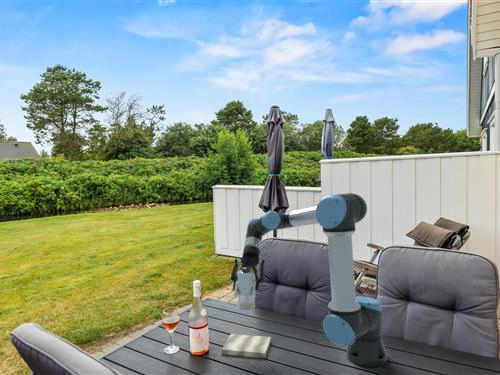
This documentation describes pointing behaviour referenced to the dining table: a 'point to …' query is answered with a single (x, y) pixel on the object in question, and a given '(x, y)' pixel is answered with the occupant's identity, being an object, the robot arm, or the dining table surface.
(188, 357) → the dining table surface
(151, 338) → the dining table surface
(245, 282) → the steel bottle
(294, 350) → the dining table surface
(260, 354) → the birch board
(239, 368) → the dining table surface
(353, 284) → the robot arm
